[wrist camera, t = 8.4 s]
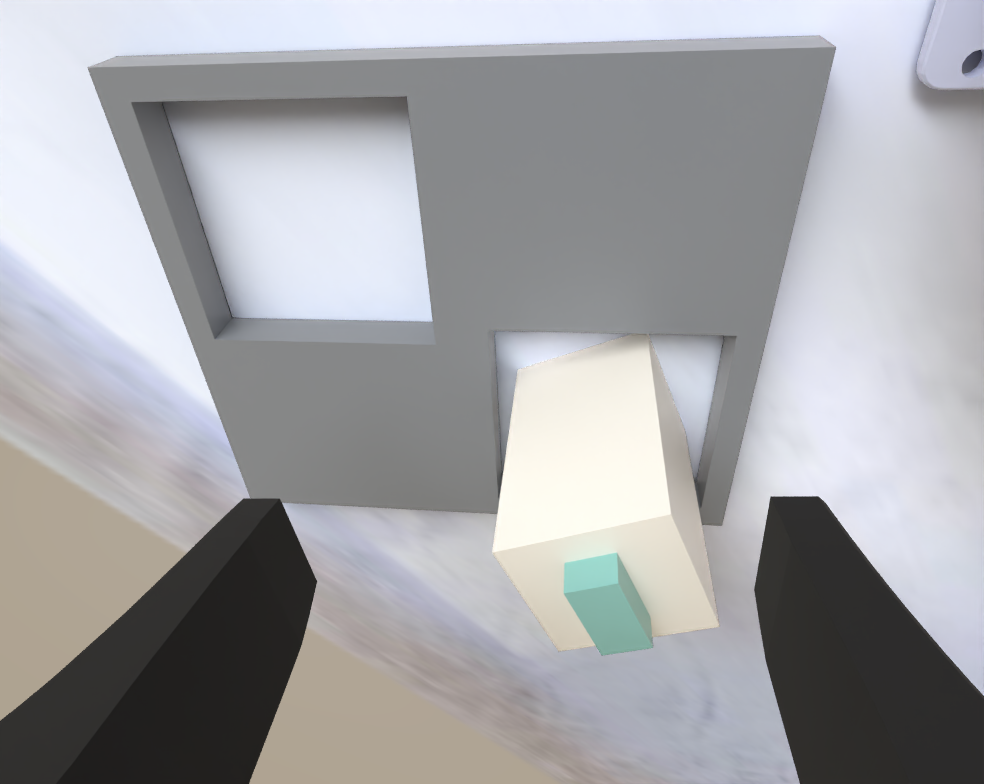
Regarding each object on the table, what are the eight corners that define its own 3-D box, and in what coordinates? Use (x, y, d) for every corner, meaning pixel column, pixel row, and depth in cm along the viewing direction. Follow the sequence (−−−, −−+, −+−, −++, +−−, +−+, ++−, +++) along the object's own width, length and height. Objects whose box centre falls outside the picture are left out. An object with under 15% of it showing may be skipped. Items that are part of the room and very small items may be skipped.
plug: (646, 329, 19) (675, 545, 13) (685, 430, 21) (725, 658, 15) (517, 369, 20) (488, 582, 14) (565, 461, 22) (557, 681, 16)
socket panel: (819, 35, 14) (836, 47, 13) (716, 498, 23) (721, 525, 22) (116, 56, 16) (87, 67, 15) (264, 476, 24) (251, 500, 24)
